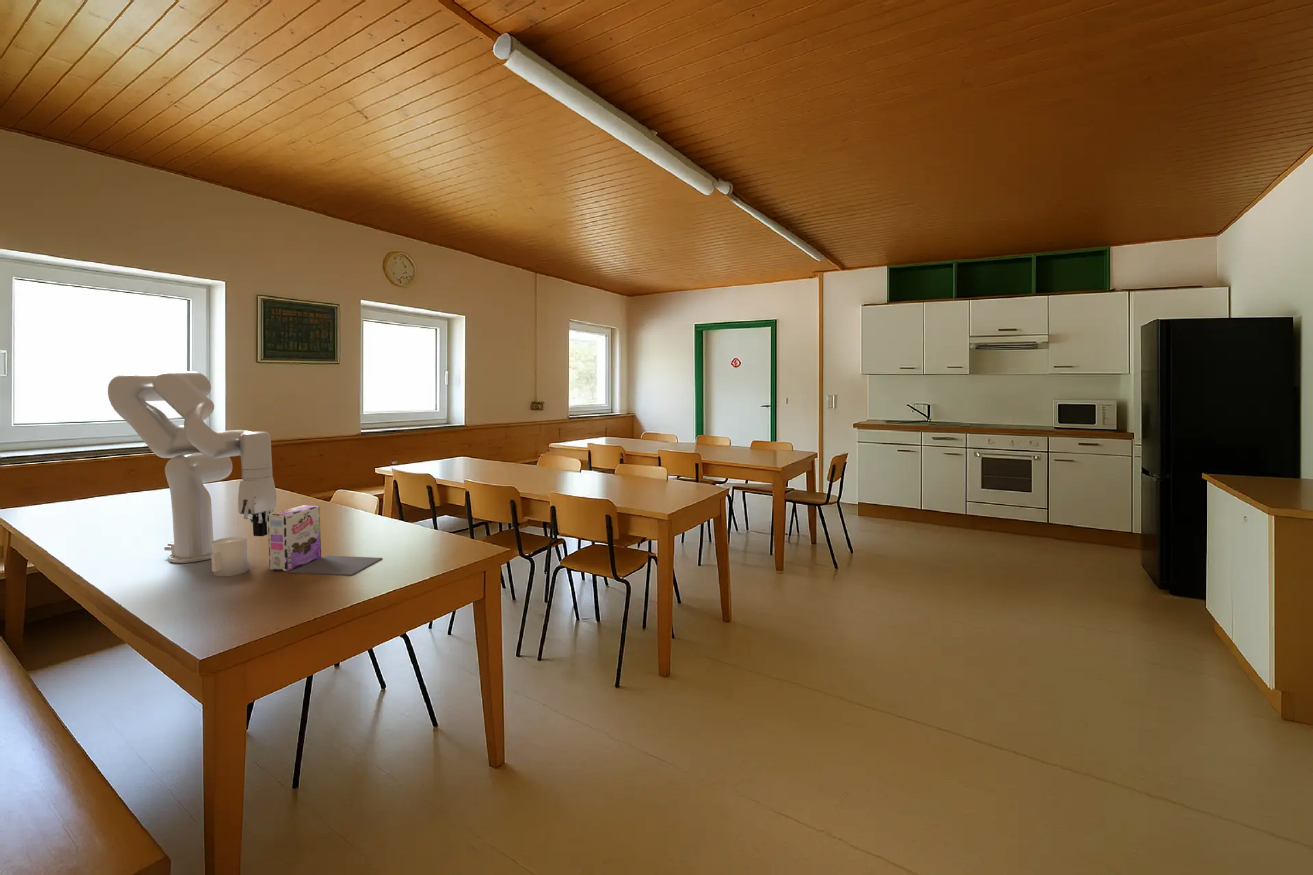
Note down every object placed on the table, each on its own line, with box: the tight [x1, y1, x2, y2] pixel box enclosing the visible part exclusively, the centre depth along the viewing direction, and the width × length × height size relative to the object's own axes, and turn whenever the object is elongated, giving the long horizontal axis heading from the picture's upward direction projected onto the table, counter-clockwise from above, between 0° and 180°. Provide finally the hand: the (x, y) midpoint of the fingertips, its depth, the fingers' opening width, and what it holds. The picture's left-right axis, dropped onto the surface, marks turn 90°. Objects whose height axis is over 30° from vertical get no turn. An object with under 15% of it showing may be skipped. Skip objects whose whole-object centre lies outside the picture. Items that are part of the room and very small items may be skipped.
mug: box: [210, 536, 249, 577], centre depth 171 cm, size 8×10×9 cm
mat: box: [290, 555, 383, 577], centre depth 179 cm, size 18×16×1 cm
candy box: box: [267, 504, 322, 572], centre depth 179 cm, size 14×6×16 cm, turn 168°
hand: (260, 535), depth 180 cm, fingers closed
